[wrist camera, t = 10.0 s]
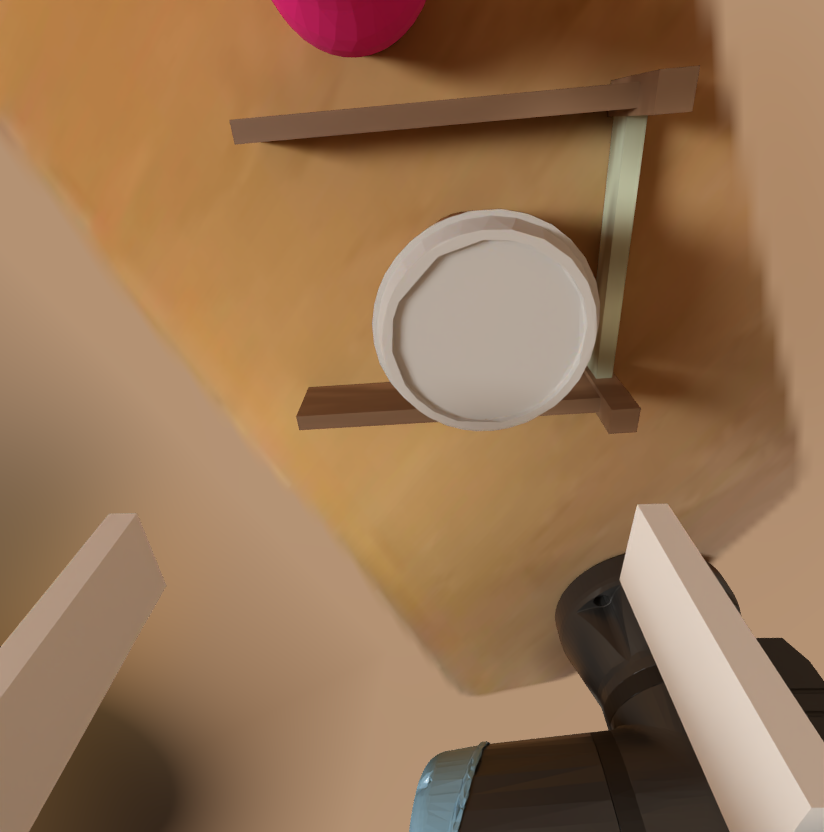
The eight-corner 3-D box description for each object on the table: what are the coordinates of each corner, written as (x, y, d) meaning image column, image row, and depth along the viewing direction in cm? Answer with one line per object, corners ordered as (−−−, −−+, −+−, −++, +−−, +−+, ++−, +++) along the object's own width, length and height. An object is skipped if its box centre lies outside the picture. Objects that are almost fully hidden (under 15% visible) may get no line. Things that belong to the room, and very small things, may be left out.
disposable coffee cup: (523, 153, 27) (587, 173, 17) (558, 313, 32) (625, 404, 21) (362, 215, 29) (330, 267, 19) (417, 358, 34) (415, 463, 23)
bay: (604, 385, 34) (636, 432, 29) (311, 403, 35) (293, 451, 30) (643, 77, 26) (700, 65, 20) (252, 114, 27) (212, 111, 21)
